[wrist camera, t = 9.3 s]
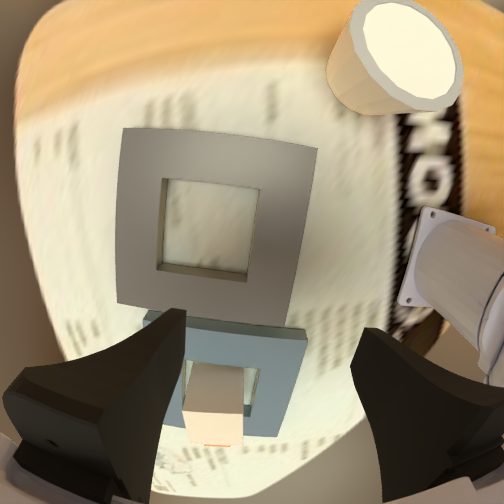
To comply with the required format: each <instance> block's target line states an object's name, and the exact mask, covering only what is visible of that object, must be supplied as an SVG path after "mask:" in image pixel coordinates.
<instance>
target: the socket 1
mask: <svg viewBox="0 0 504 504" xmlns="http://www.w3.org/2000/svg"><path fill="white" fill-rule="evenodd" d="M317 150H318V148H313V147H308V146H303V145H298V144H292V143H286V142H280V141H274V140H268V139H261V138H254V137H247V136H239V135H230V134H221V133H212V132H201V131H188V130H173V129H151V128H123V134H122V142H121V150H120V160H119V170H118V183H117V199H116V226H115V264H116V291H117V303H120V304H125V305H130V306H136V307H141V308H147V309H152V310H158V311H164V312H166V311H167V310H169V309H170V308H177V309H184V310H187V313H186V315H189V316H196V317H203V318H210V319H217V320H225V321H233V322H241V323H250V324H259V325H269V326H279V327H284V325H285V320H286V316H287V311H288V307H289V302H290V297H291V293H292V288H293V283H294V278H295V274H296V269H297V264H298V259H299V254H300V248H301V243H302V238H303V233H304V227H305V222H306V216H307V211H308V205H309V199H310V193H311V187H312V181H313V175H314V169H315V163H316V156H317ZM168 178H170V179H180V180H190V181H200V182H209V183H217V184H226V185H234V186H241V187H249V188H256V189H259V194H258V201H257V208H256V215H255V222H254V229H253V235H252V242H251V249H250V256H249V263H248V270H247V274H241V273H234V272H226V271H218V270H211V269H203V268H196V267H189V266H181V265H174V264H167V263H162V253H163V234H164V219H165V206H166V195H167V184H168Z"/></svg>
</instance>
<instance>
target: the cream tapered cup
mask: <svg viewBox="0 0 504 504" xmlns="http://www.w3.org/2000/svg"><path fill="white" fill-rule="evenodd" d="M463 74H464V70H463V65H462V61H461V57H460V53H459V50H458V48H457V46H456V44H455V42H454V41H453V39H452V37H451V35H450V34H449V32H448V30H447V29H446V28H445V26H444V25H443V24H442V23H441V22H440V21H439V20H438V19H437V18H436V17H435V16H434V15H433V14H432V13H431V12H430V11H429V10H427V9H425V8H424V7H422V6H420V5H419V4H417V3H415V2H414V1H412V0H363V1H361V2H360V3H359V4H358V5H357V6H356V7H354V9H353V11H352V13H351V15H350V17H349V19H348V21H347V23H346V25H345V26H344V28H343V30H342V32H341V34H340V36H339V38H338V40H337V42H336V44H335V46H334V48H333V50H332V52H331V54H330V56H329V59H328V63H327V66H326V75H327V81H328V85H329V86H330V88H331V90H332V92H333V93H334V95H335V97H336V98H337V99H338V100H339V101H340V102H341V103H343V104H344V105H345V106H346V107H347V108H348V109H350V110H353V111H355V112H357V113H360V114H362V115H386V114H399V113H416V112H437V111H439V110H441V109H444V108H446V107H448V106H451V105H453V103H454V102H455V100H456V98H457V97H458V95H459V94H460V92H461V91H462V84H463Z"/></svg>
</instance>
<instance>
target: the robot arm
mask: <svg viewBox="0 0 504 504" xmlns="http://www.w3.org/2000/svg"><path fill="white" fill-rule="evenodd" d="M431 212H433V215H432V217H431V216H430V214H431ZM485 230H486V231H485ZM408 298H409V300H408V301H406V300H407V299H408ZM397 302H398V303H399V304H400V305H402V306H416V307H433V308H434V309H435V310H436V311H437V312H438V313H440V314H441V315H442V316H443V317H444V318H445V319H446V320H447V321H448V322H449V323H450V324H451V325H452V326H453V327H455V328H456V329H457V330H458V331H459V332H460V333H461V334H462V335H463V336H464V337H465V338H466V339H467V340H468V341H469V342H470V343H471V344H472V345H473V346H474V347H475V348H476V349H477V350H478V351H479V352H480V359H479V361H478V366H479V367H480V368H481V369H482V370H483V371H484V372H485V373H486V377H485V379H484V382H483V383H480V382H476V381H473V380H470V379H467V378H465V377H462V376H459V375H457V374H454V373H452V372H450V371H448V370H446V369H444V368H442V367H439V366H438V365H436V364H434V363H432V362H431V361H429V360H427V359H425V358H424V357H422V356H421V355H419V354H417V353H416V352H414V351H413V350H411V349H410V348H408V347H407V346H405V345H404V344H402V343H401V342H399V341H398V340H396V339H395V338H393V337H392V336H390V335H389V334H387V333H385V332H384V331H382V330H380V329H378V328H365V327H364V330H363V333H362V336H361V338H360V341H359V344H358V347H357V349H356V352H355V354H354V357H353V360H352V362H351V365H350V368H351V373H352V377H353V381H354V385H355V388H356V391H357V393H358V396H359V398H360V401H361V403H362V406H363V408H364V410H365V413H366V415H367V418H368V421H369V423H370V425H371V429H372V432H373V436H374V440H375V444H376V449H377V454H378V459H379V465H380V473H381V482H382V500H383V503H382V504H504V450H503V449H502V447H501V445H503V443H504V439H503V438H502V435H503V434H504V239H503V238H501V237H499V236H496V229H495V227H493V226H490V225H487V224H484V223H481V222H478V221H475V220H472V219H469V218H466V217H463V216H459V215H456V214H453V213H449V212H446V211H443V210H439V209H436V208H432V207H428V206H424V207H423V208H422V210H421V213H420V218H419V222H418V227H417V231H416V235H415V239H414V243H413V247H412V251H411V254H410V258H409V262H408V265H407V269H406V272H405V276H404V279H403V282H402V285H401V288H400V292H399V295H398V298H397ZM186 313H187V310H184V309H177V308H170V309H169V310H167V311H166V312H164V313H163V314H162V315H160V316H159V317H158V318H156V319H155V320H154V321H152V322H151V323H150V324H148V325H147V326H145V327H144V328H143V329H141V330H140V331H138V332H136V333H135V334H133V335H132V336H130V337H128V338H127V339H125V340H123V341H121V342H119V343H117V344H115V345H113V346H111V347H109V348H107V349H105V350H102V351H99V352H97V353H94V354H91V355H88V356H85V357H82V358H79V359H75V360H72V361H67V362H63V363H58V364H52V365H45V366H35V367H25V368H24V369H23V370H22V372H21V373H20V374H19V375H18V376H17V377H16V379H15V380H14V381H13V382H12V383H11V385H10V386H9V387H8V388H7V390H6V391H5V392H4V394H3V397H2V399H3V404H4V408H5V410H6V412H7V414H8V416H9V418H10V419H11V421H12V423H13V425H14V426H15V428H16V429H17V431H18V433H19V434H20V436H21V438H22V439H23V440H22V442H21V444H20V445H19V446H18V445H17V444H16V443H15V442H13V441H12V440H11V439H9V438H8V437H6V436H5V435H3V434H2V433H0V504H149V499H150V491H151V484H152V477H153V471H154V465H155V459H156V454H157V449H158V443H159V439H160V434H161V429H162V425H163V421H164V418H165V415H166V412H167V409H168V406H169V404H170V401H171V398H172V395H173V392H174V390H175V387H176V384H177V381H178V379H179V376H180V373H181V369H182V364H183V360H184V355H185V339H186Z"/></svg>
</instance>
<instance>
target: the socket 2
mask: <svg viewBox="0 0 504 504" xmlns="http://www.w3.org/2000/svg"><path fill="white" fill-rule="evenodd" d="M162 314H163V312H157V311H152V310H148V312H147V314H146V315H145V317H144V319H143V328H144V327H145V326H147V325H148V324H150V323H151V322H152V321H154V320H155V319H156V318H158V317H159V316H160V315H162ZM307 343H308V338H307V335H306V332H305V330H301V329H289V328H278V327H268V326H258V325H249V324H240V323H232V322H224V321H217V320H209V319H202V318H195V317H188V316H186V339H185V355H184V360H183V364H182V369H181V373H180V376H179V379H178V381H177V384H176V387H175V390H174V392H173V395H172V398H171V401H170V404H169V406H168V409H167V412H166V415H165V418H164V421H163V424H164V425H169V426H175V427H180V428H186V426H185V422H184V418H183V413H182V408H183V404H184V400H185V360H191V361H198V362H205V363H212V364H220V365H228V366H237V367H246V368H257V369H258V370H257V375H256V379H255V384H254V389H253V394H252V398H251V403H250V406H249V405H243V435H245V436H261V437H277V435H278V433H279V430H280V427H281V424H282V421H283V419H284V416H285V413H286V410H287V407H288V404H289V401H290V398H291V395H292V392H293V389H294V386H295V383H296V380H297V376H298V373H299V370H300V367H301V363H302V360H303V357H304V353H305V350H306V347H307Z"/></svg>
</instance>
